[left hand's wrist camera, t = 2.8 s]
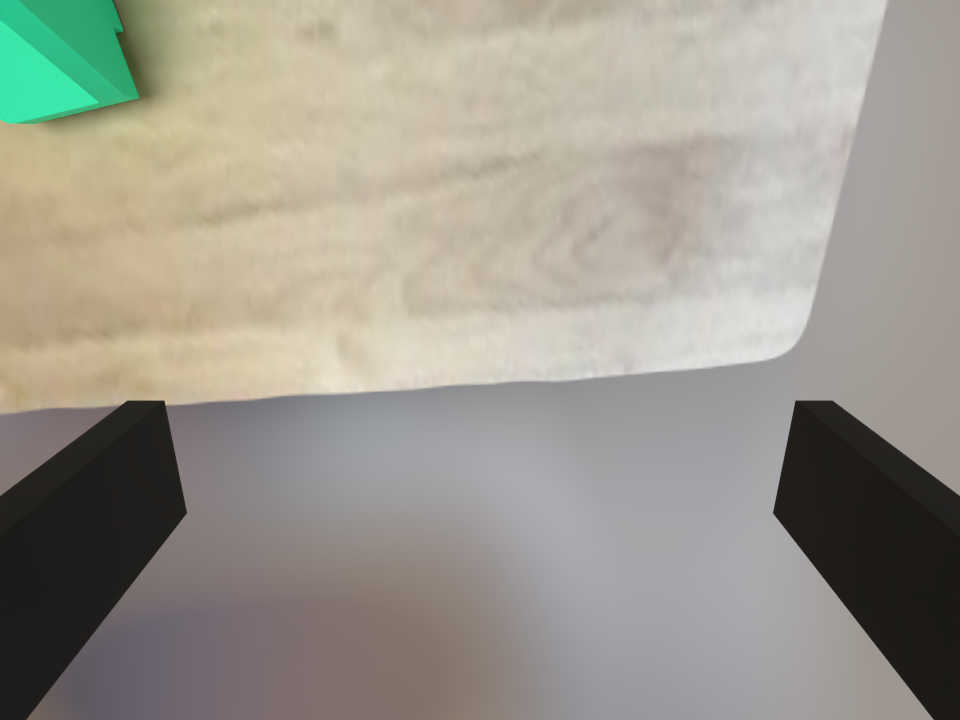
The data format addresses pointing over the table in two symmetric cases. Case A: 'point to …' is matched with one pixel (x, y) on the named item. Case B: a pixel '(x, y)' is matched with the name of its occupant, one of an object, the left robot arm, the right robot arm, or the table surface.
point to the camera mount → (60, 59)
